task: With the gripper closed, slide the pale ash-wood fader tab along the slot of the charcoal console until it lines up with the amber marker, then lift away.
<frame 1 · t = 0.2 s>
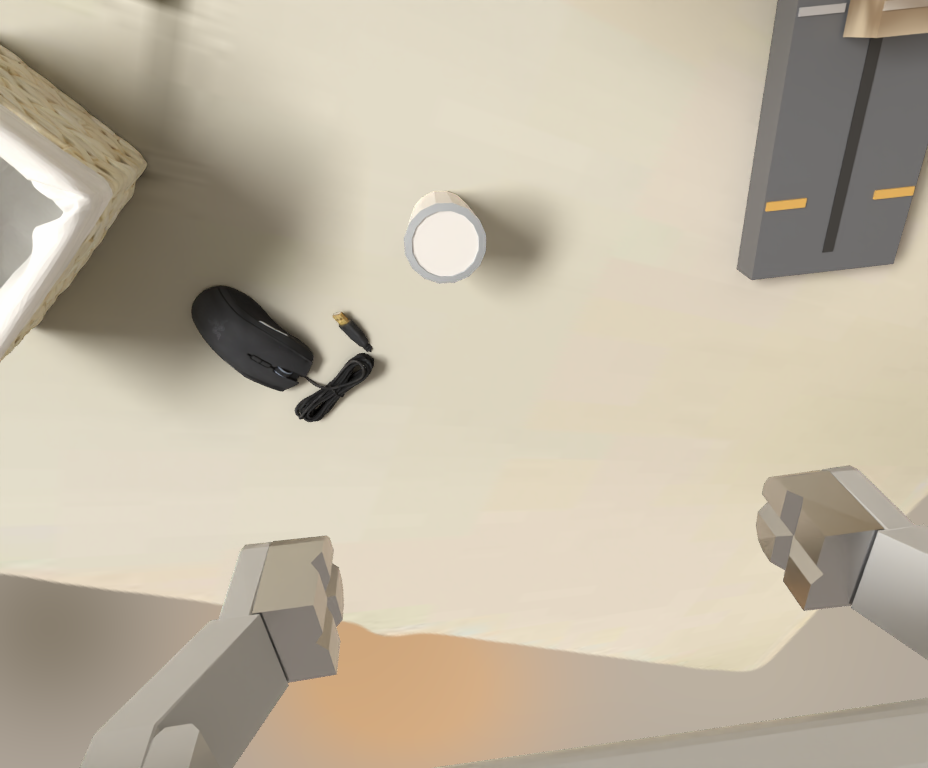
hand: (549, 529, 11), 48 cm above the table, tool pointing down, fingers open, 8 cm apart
shot glass: (441, 220, 56), on the table
fader console: (834, 122, 54), on the table
computer mouse: (292, 335, 61), on the table
fader tab: (905, 2, 45), point 5 cm above the table, slide at 0.0 cm
storage basket: (16, 196, 52), on the table
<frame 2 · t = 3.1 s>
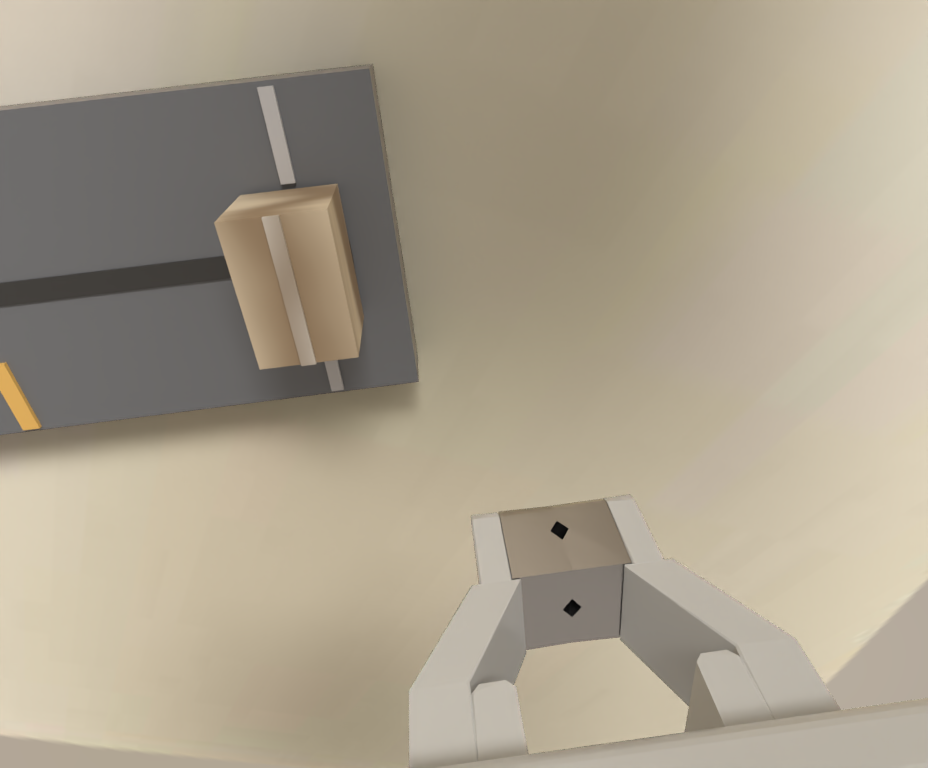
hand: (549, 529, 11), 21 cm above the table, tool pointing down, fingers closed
fader console: (127, 259, 29), on the table
fader tab: (298, 276, 25), point 5 cm above the table, slide at 0.0 cm
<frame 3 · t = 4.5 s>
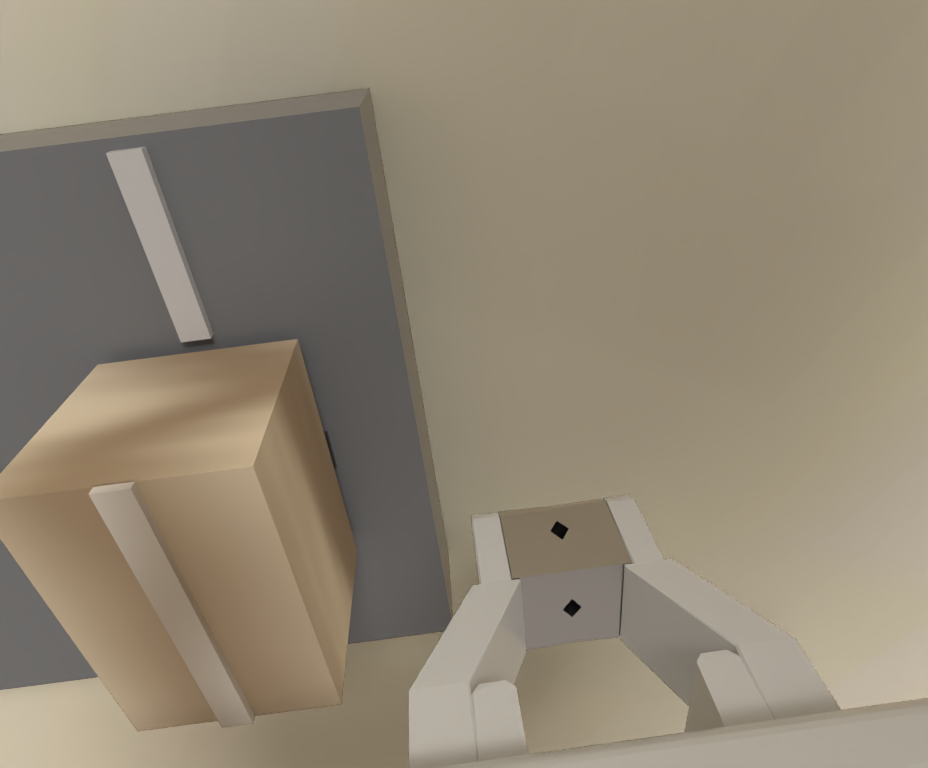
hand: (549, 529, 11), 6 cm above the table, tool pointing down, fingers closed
fader tab: (217, 535, 12), point 5 cm above the table, slide at 0.0 cm
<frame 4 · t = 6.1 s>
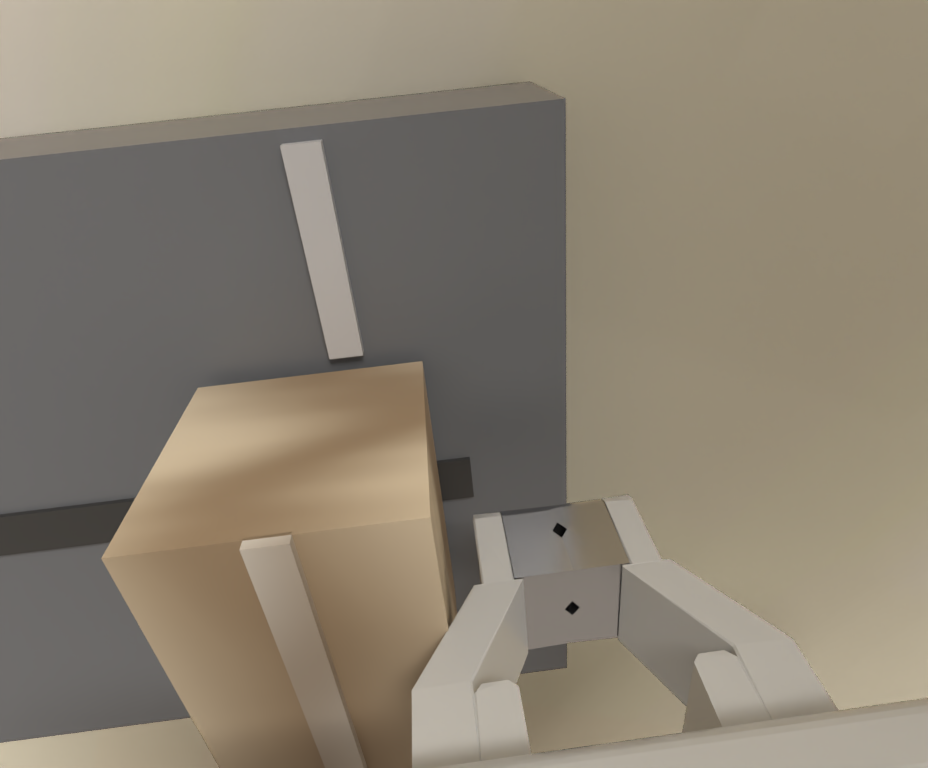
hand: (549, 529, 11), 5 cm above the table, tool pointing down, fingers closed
fader console: (17, 452, 15), on the table
fader tab: (332, 581, 11), point 5 cm above the table, slide at 0.7 cm, touching gripper
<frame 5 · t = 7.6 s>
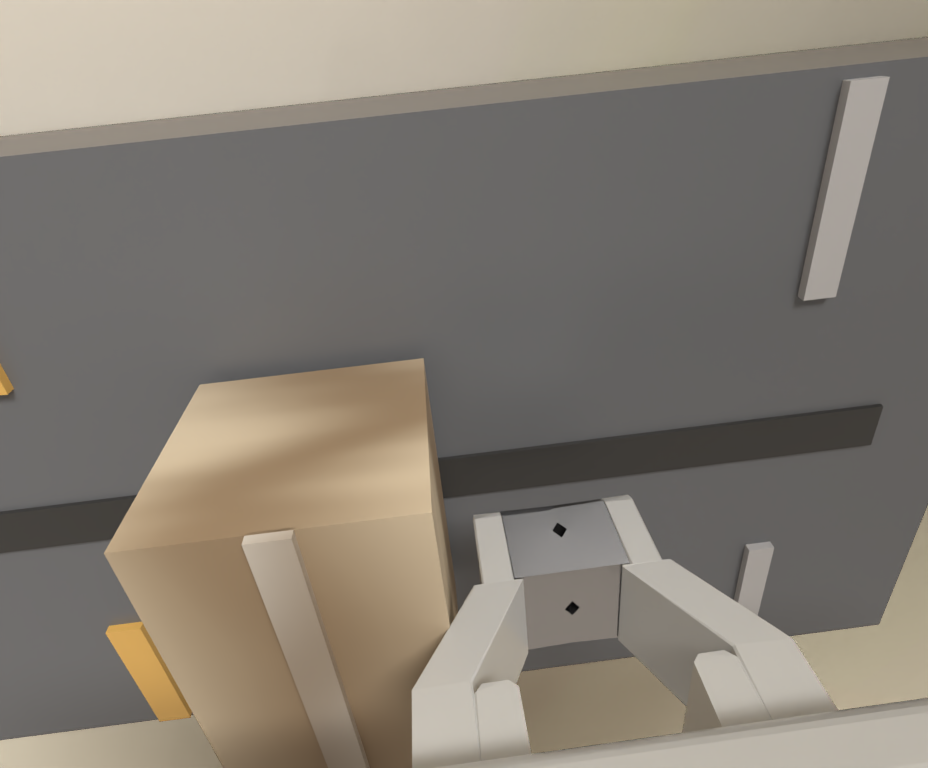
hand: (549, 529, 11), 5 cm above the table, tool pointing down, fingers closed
fader console: (366, 408, 15), on the table
fader tab: (333, 578, 11), point 5 cm above the table, slide at 9.3 cm, touching gripper
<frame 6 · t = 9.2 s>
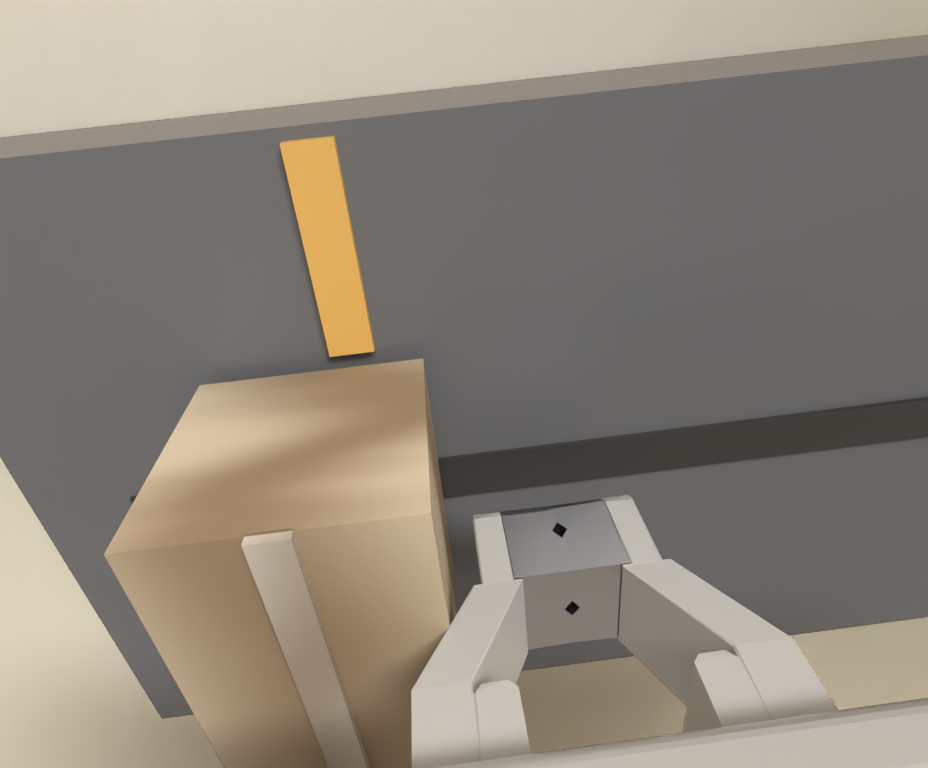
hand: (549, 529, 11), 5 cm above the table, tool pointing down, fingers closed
fader console: (621, 377, 15), on the table
fader tab: (334, 578, 11), point 5 cm above the table, slide at 15.8 cm, touching gripper
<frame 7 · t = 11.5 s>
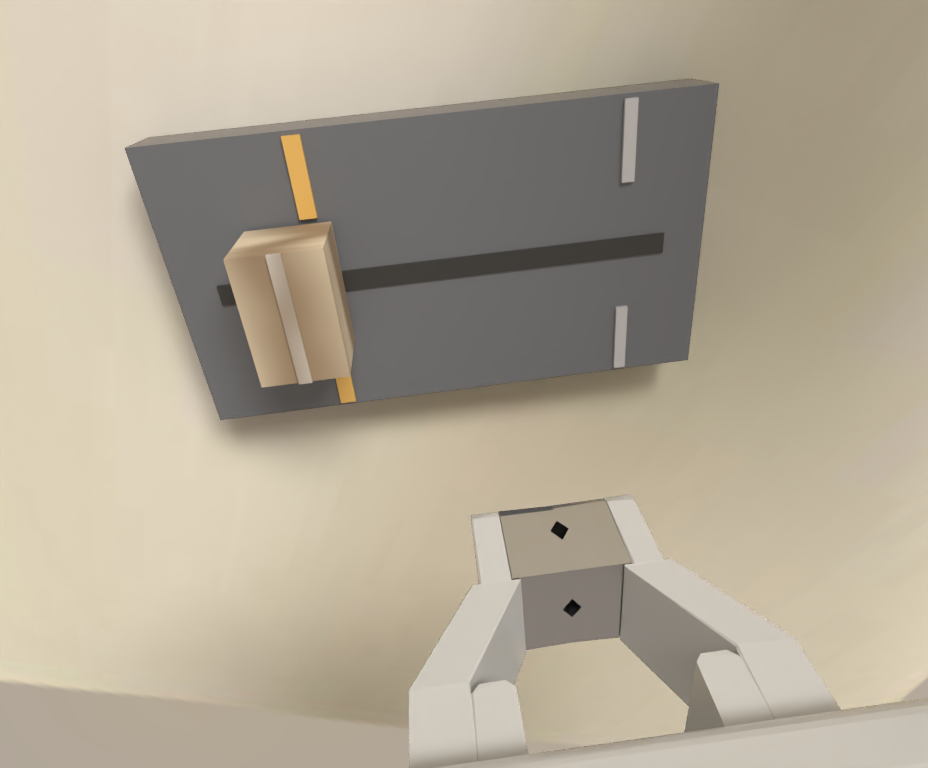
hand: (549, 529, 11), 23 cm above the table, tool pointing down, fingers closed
fader console: (440, 249, 33), on the table
fader tab: (296, 304, 28), point 5 cm above the table, slide at 16.0 cm
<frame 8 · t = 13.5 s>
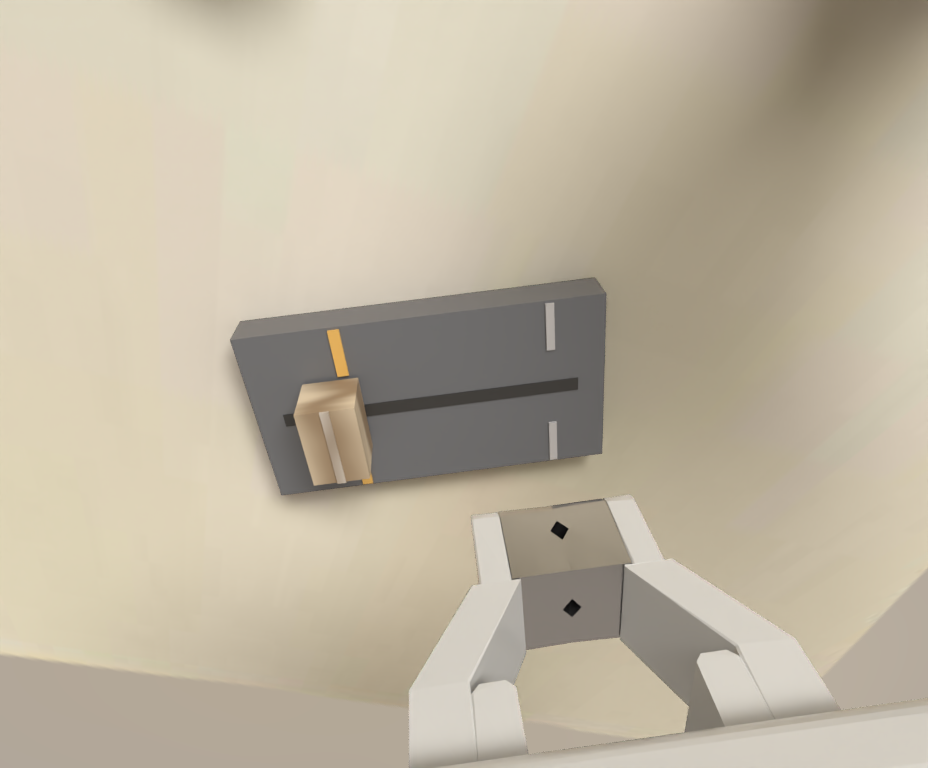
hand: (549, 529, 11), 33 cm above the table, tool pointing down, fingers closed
fader console: (430, 381, 48), on the table
fader tab: (336, 431, 43), point 5 cm above the table, slide at 16.0 cm
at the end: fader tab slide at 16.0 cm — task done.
